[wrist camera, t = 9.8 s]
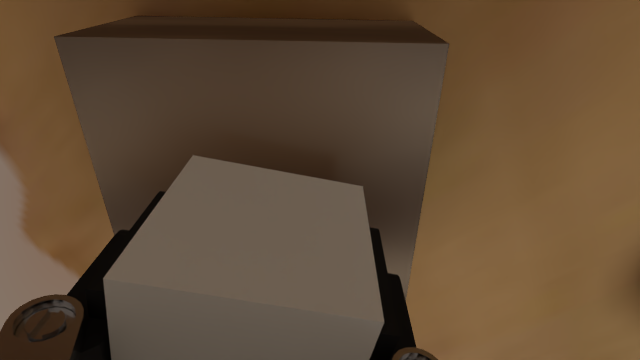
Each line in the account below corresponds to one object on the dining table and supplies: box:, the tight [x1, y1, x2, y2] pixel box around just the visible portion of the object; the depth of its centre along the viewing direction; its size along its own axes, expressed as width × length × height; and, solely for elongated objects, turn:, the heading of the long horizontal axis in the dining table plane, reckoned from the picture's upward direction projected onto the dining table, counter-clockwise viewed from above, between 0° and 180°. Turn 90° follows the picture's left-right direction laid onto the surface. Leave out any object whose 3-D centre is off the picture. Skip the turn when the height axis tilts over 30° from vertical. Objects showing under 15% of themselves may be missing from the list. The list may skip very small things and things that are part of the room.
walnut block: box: [54, 16, 449, 301], centre depth 17 cm, size 12×12×6 cm
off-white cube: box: [103, 155, 384, 360], centre depth 10 cm, size 5×5×5 cm
